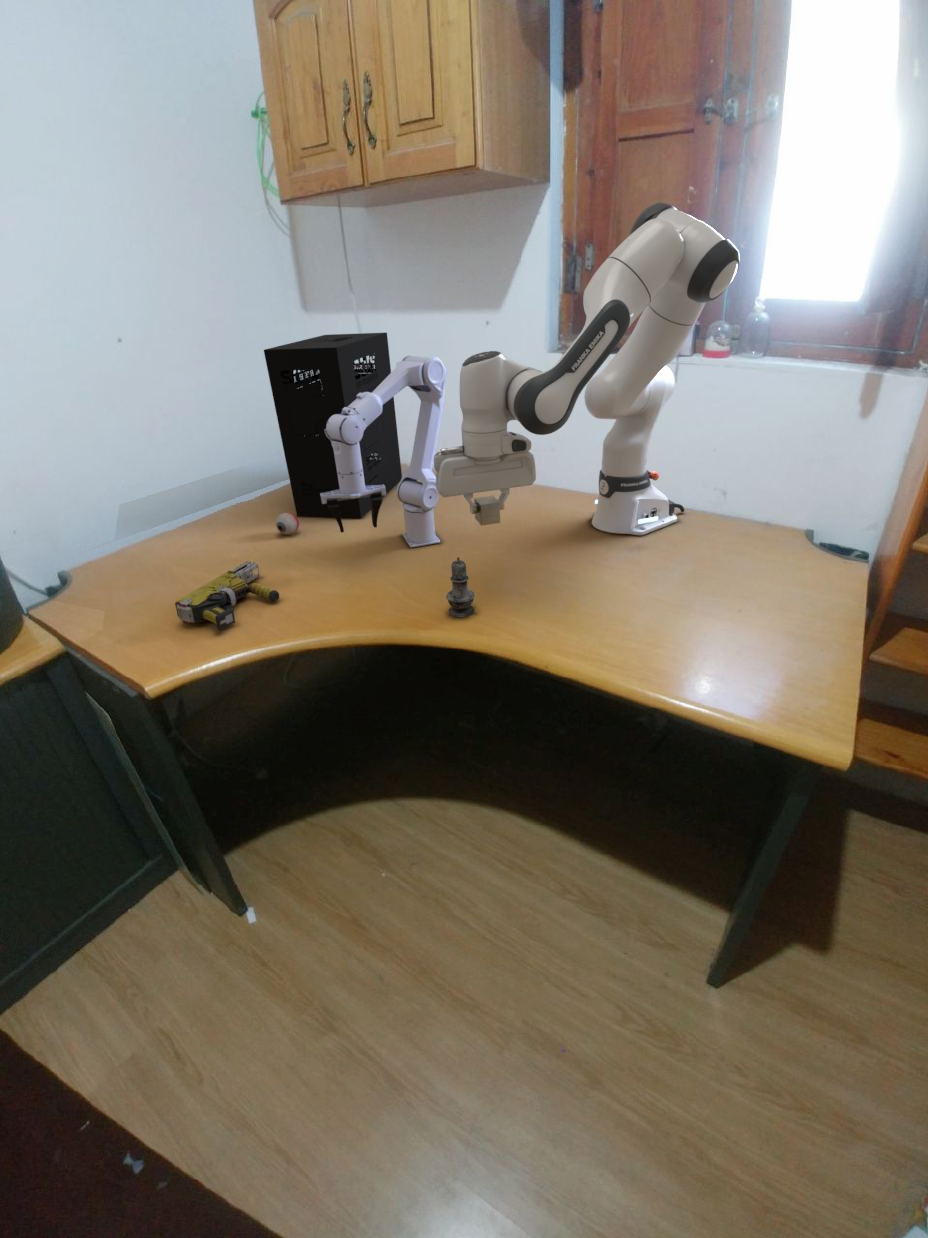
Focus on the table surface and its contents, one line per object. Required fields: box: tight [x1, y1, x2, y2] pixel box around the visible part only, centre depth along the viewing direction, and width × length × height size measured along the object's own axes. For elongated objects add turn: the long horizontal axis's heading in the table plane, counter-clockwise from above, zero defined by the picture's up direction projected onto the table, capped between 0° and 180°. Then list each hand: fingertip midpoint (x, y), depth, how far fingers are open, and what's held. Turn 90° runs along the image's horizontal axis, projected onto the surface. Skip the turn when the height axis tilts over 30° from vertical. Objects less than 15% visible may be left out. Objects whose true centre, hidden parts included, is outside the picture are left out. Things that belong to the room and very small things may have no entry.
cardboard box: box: [263, 332, 403, 519], centre depth 180 cm, size 38×20×45 cm, turn 167°
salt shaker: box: [445, 556, 476, 618], centre depth 120 cm, size 6×6×12 cm
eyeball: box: [275, 511, 300, 536], centre depth 163 cm, size 6×6×6 cm
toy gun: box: [174, 560, 280, 631], centre depth 130 cm, size 5×24×15 cm
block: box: [473, 495, 501, 527], centre depth 124 cm, size 4×5×4 cm
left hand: (358, 528), depth 141 cm, fingers open, 7 cm apart
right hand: (487, 510), depth 124 cm, fingers closed on block, 4 cm apart
